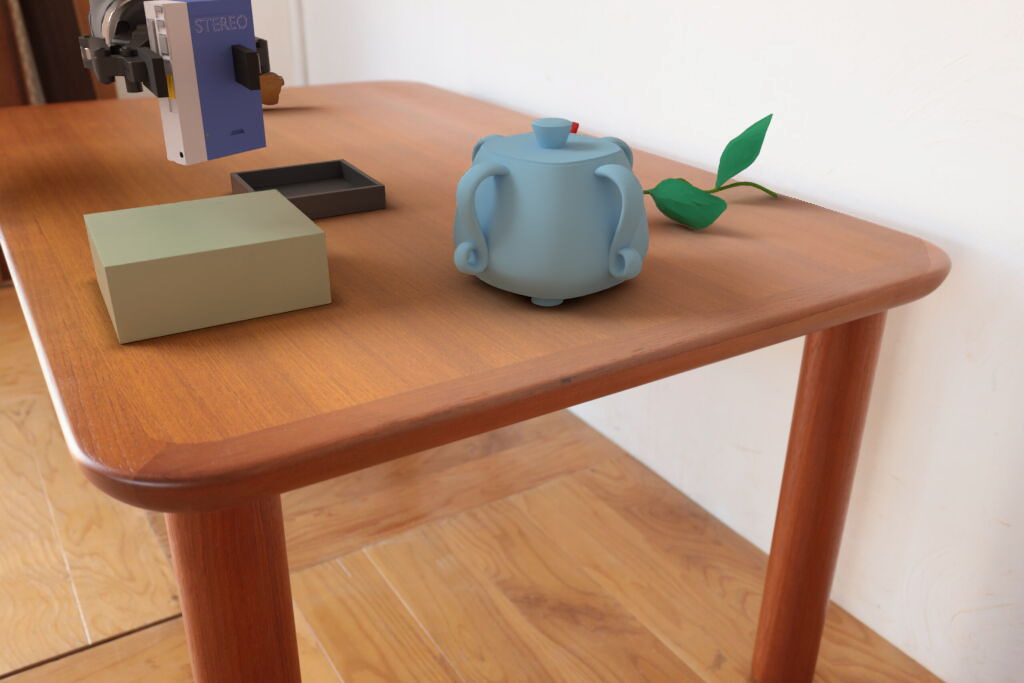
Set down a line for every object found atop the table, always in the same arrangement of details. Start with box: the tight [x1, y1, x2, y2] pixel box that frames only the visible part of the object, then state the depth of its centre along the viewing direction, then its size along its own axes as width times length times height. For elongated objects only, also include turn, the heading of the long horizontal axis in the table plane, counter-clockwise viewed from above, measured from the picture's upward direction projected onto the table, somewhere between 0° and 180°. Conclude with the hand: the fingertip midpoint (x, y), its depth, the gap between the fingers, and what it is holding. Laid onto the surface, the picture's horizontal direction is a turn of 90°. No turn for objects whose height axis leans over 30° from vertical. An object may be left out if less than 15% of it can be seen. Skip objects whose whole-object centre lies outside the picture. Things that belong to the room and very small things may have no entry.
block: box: [83, 189, 332, 345], centre depth 73 cm, size 14×16×6 cm
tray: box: [229, 158, 387, 220], centre depth 98 cm, size 13×13×2 cm
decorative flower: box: [570, 113, 779, 230], centre depth 90 cm, size 14×30×10 cm, turn 104°
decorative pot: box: [452, 117, 650, 307], centre depth 74 cm, size 16×16×14 cm
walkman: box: [144, 0, 267, 167], centre depth 69 cm, size 8×3×12 cm, turn 144°
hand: (208, 74), depth 65 cm, fingers closed on walkman, 6 cm apart
